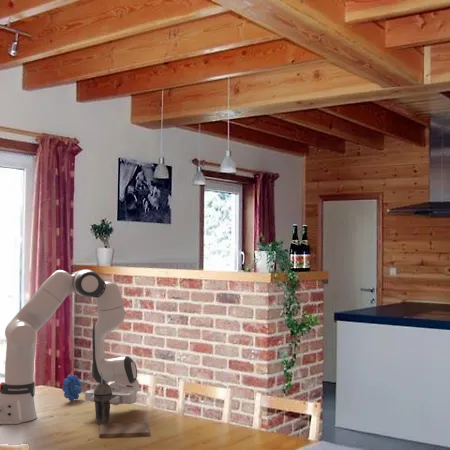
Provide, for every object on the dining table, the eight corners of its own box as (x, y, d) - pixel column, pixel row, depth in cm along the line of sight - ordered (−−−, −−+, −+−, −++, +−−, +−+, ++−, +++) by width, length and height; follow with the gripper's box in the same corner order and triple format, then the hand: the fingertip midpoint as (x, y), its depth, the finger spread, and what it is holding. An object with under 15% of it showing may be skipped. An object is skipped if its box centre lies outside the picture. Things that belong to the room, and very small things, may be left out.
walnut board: (99, 437, 242) (99, 434, 242) (99, 427, 255) (99, 424, 255) (149, 435, 245) (149, 432, 245) (147, 425, 258) (147, 422, 259)
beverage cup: (115, 422, 263) (116, 371, 264) (104, 426, 257) (105, 374, 257) (100, 420, 266) (101, 369, 267) (89, 424, 260) (90, 372, 260)
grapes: (69, 404, 292) (70, 377, 292) (58, 403, 295) (58, 375, 296) (88, 399, 302) (88, 373, 302) (76, 398, 305) (77, 371, 306)
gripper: (93, 383, 277) (77, 390, 264) (139, 387, 272) (125, 394, 258) (93, 399, 277) (77, 406, 264) (139, 402, 272) (125, 410, 258)
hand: (101, 400), depth 261 cm, fingers closed on beverage cup, 6 cm apart
